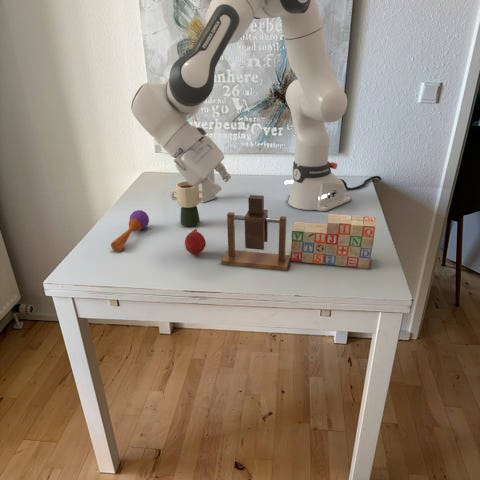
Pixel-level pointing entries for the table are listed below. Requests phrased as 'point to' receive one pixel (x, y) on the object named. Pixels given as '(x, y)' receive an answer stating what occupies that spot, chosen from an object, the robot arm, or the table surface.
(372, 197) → the table surface
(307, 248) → the stack of blocks
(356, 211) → the table surface
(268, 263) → the rail
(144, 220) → the kendama
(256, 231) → the brown stepped block
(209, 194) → the cosmetic box
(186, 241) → the onion
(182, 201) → the character mug
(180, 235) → the table surface
